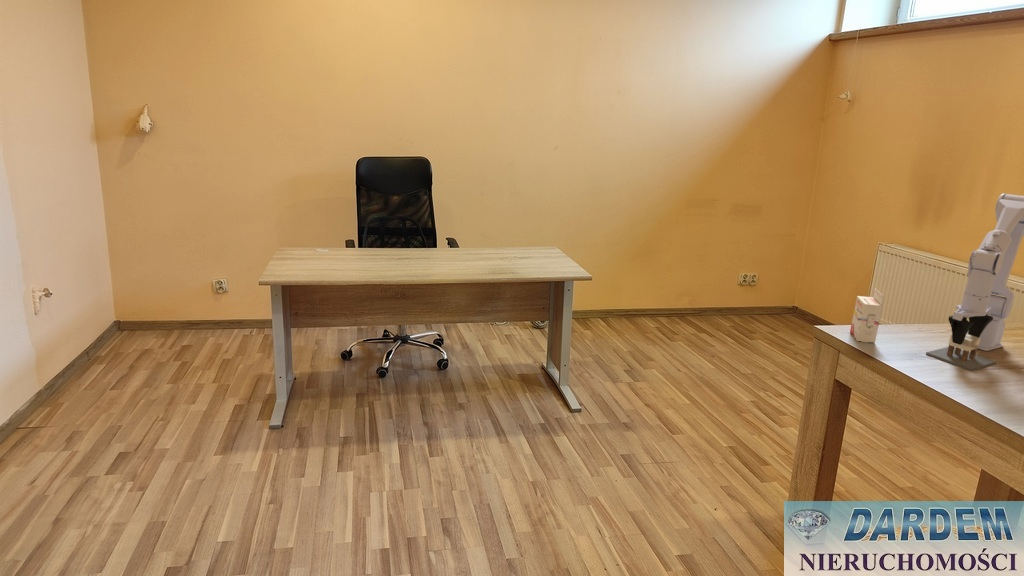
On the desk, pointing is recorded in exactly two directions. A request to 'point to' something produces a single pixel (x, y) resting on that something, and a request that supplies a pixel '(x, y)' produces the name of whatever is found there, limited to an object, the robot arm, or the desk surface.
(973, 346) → the stool
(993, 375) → the desk surface
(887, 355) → the desk surface
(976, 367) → the mat
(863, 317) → the ink cartridge box
